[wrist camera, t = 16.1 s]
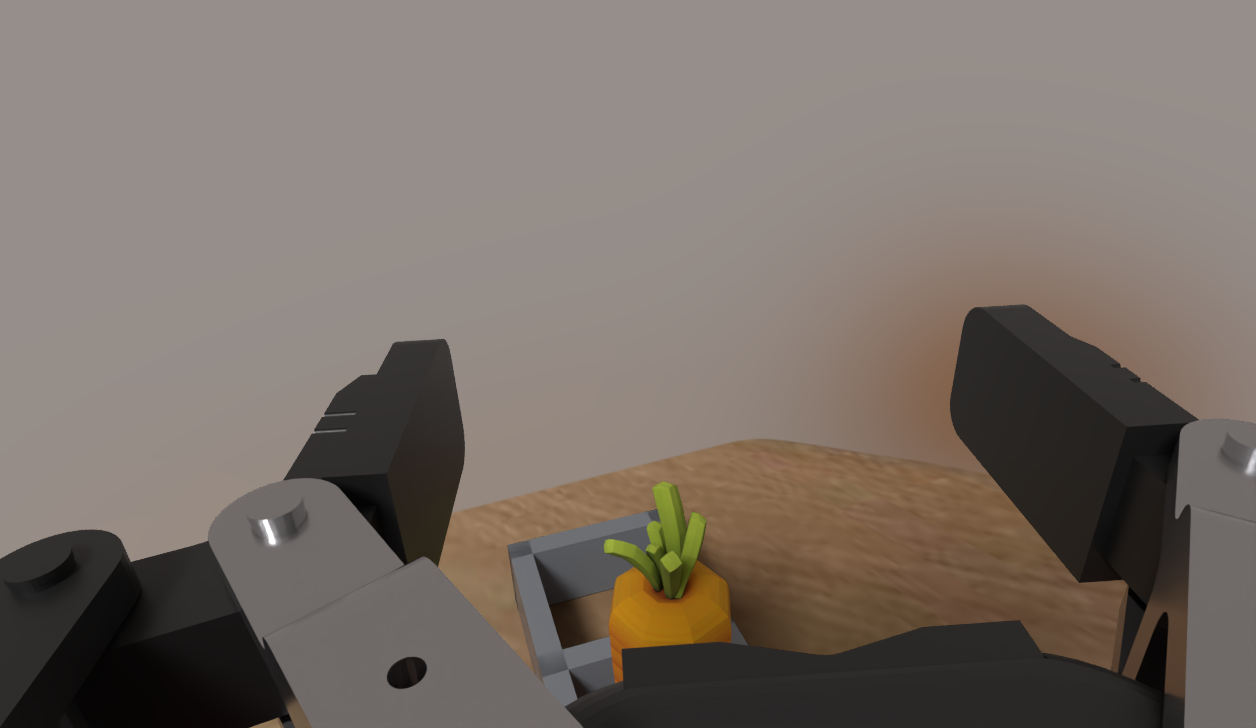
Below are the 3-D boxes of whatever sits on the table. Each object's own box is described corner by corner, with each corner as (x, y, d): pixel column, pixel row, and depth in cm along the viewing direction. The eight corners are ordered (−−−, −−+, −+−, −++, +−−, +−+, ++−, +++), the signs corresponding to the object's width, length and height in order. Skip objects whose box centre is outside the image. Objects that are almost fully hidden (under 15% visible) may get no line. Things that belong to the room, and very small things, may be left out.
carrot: (702, 850, 30) (708, 573, 23) (596, 797, 32) (573, 528, 25) (743, 749, 34) (759, 485, 27) (646, 707, 36) (638, 453, 29)
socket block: (735, 541, 47) (737, 489, 45) (912, 799, 32) (925, 737, 30) (515, 598, 43) (507, 545, 41) (597, 919, 28) (590, 857, 26)
